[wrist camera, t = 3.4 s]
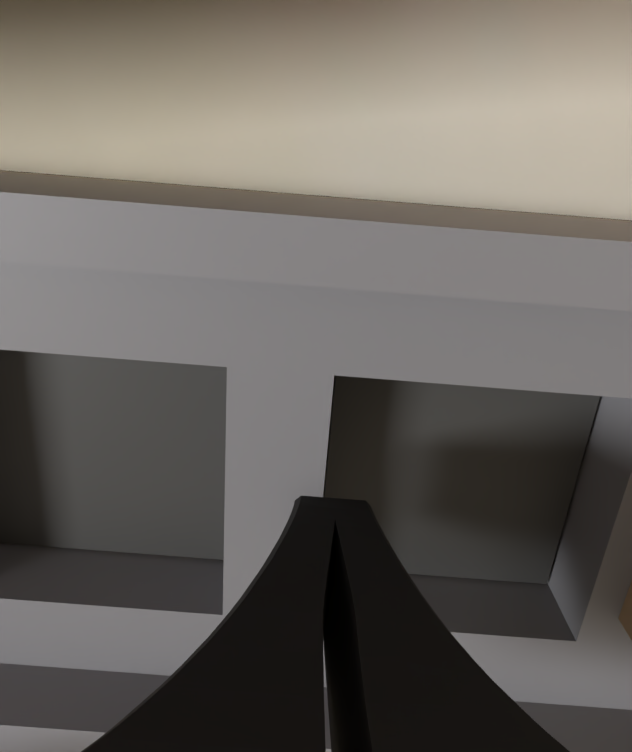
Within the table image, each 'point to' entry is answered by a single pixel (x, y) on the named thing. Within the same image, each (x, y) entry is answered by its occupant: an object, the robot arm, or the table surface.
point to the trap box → (306, 433)
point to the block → (627, 613)
